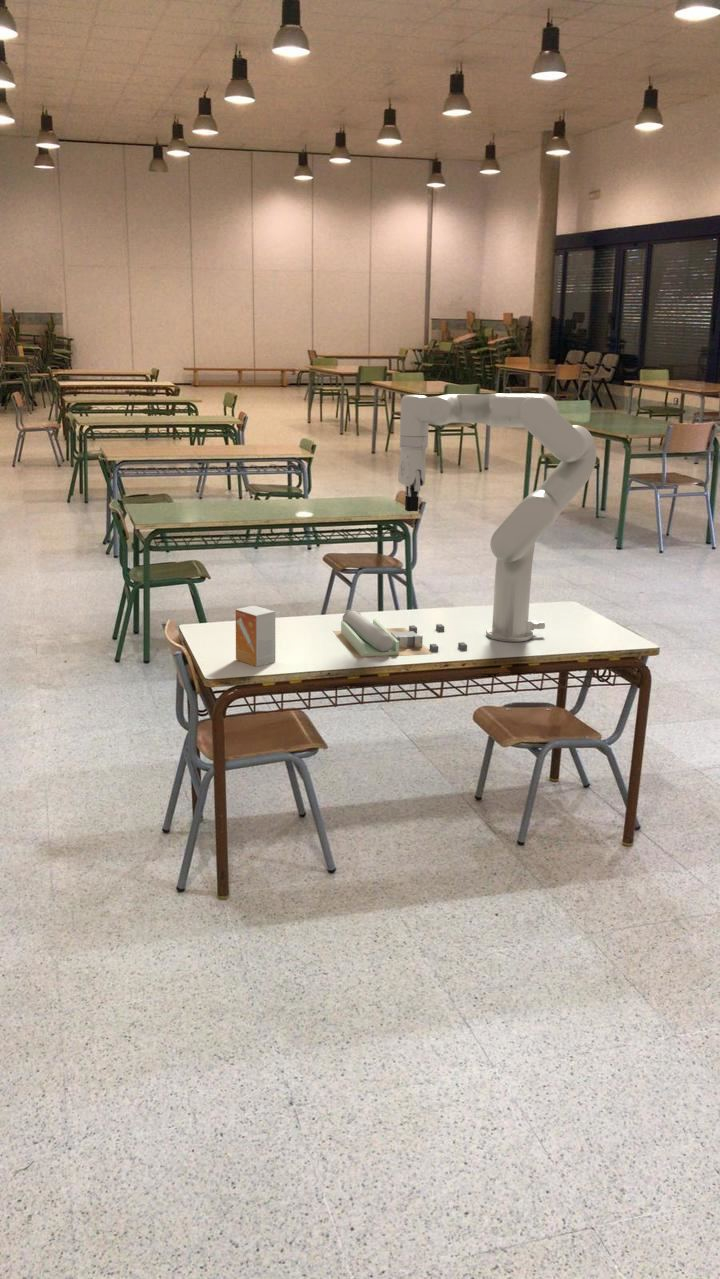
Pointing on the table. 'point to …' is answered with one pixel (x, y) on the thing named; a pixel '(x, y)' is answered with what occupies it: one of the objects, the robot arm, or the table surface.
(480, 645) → the table surface
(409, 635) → the grey faceted block
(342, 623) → the tray
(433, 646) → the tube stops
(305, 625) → the table surface
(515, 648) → the table surface
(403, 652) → the board
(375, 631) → the tube
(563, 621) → the table surface
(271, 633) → the small box
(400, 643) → the bench dogs
